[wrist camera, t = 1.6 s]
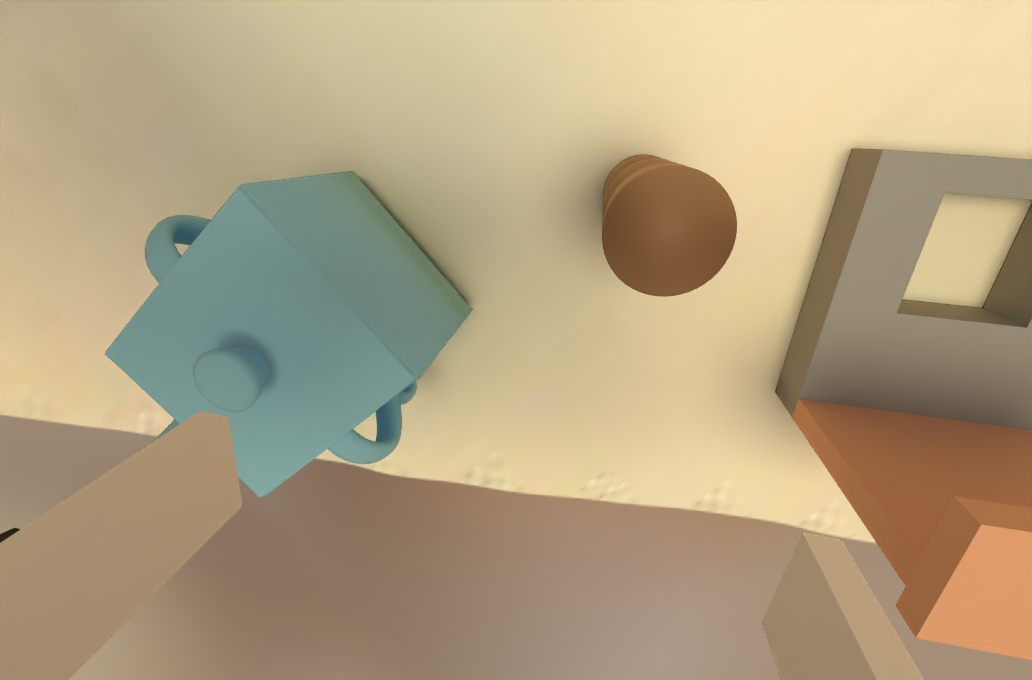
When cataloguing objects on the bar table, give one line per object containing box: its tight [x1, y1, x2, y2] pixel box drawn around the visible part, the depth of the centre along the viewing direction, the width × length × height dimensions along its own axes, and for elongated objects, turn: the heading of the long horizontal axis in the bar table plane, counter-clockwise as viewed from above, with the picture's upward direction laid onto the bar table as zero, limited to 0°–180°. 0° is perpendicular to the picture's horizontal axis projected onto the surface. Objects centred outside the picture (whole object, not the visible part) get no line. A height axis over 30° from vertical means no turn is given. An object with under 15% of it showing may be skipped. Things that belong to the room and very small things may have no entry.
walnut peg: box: [602, 155, 737, 296], centre depth 21 cm, size 4×4×13 cm
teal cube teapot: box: [105, 171, 473, 498], centre depth 27 cm, size 18×16×13 cm
